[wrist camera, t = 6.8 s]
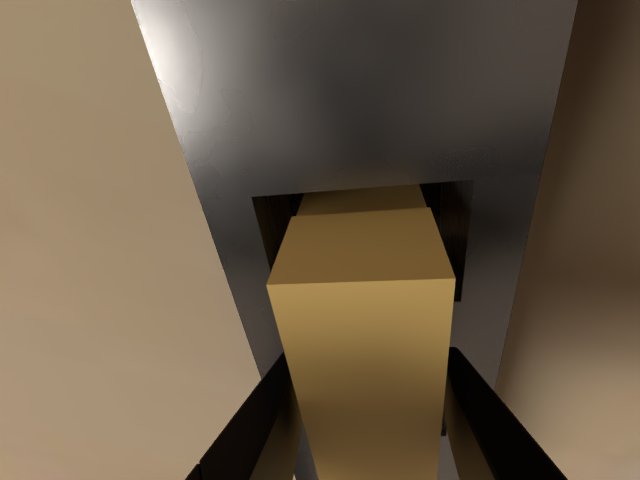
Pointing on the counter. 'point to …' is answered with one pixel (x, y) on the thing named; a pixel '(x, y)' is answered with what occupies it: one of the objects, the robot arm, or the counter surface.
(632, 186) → the counter surface
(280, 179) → the rail
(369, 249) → the yellow rectangular block
